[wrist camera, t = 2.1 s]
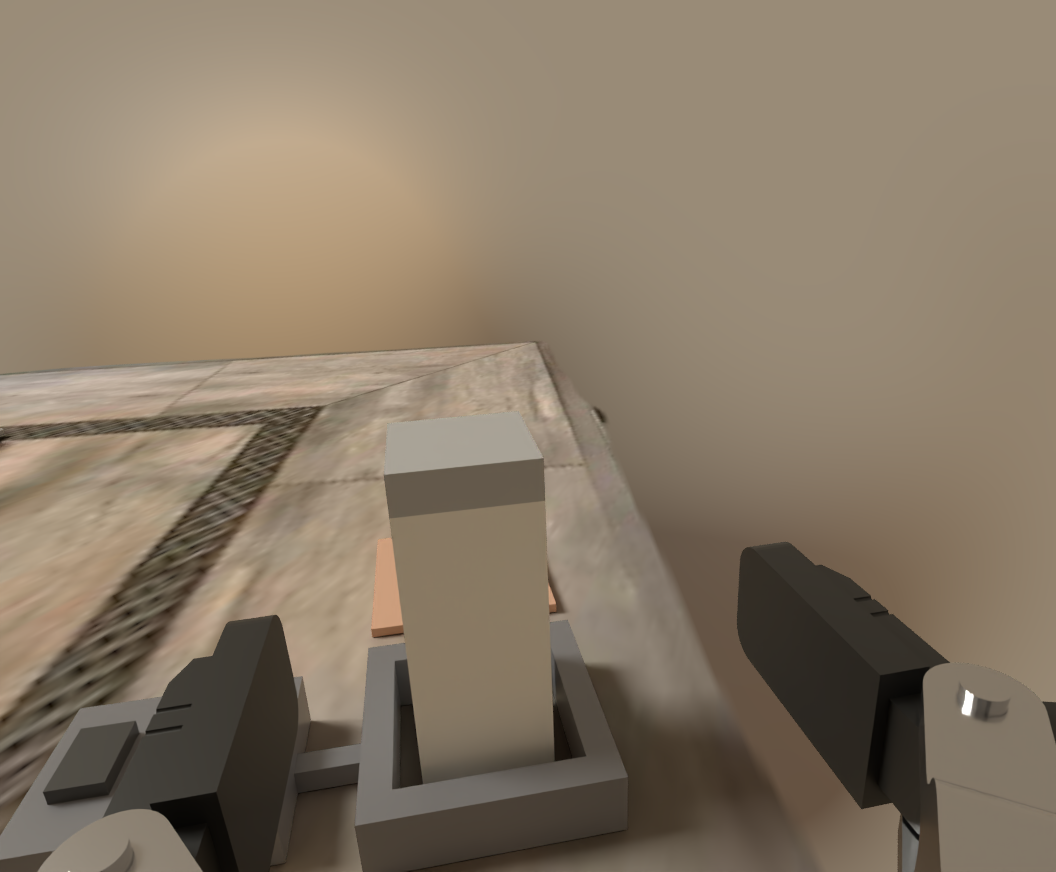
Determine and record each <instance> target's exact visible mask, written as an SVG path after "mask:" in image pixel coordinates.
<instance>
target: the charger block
mask: <svg viewBox="0 0 1056 872" xmlns="http://www.w3.org/2000/svg"><path fill="white" fill-rule="evenodd" d="M384 480H385V488H386V496H387V504H388V511H389V519H390V527H391V535H392V543H393V551H394V559H395V567H396V575H397V583H398V591H399V599H400V606H401V614H402V622H403V630H404V638H405V646H406V654H407V662H408V670H409V678H410V686H411V693H412V701H413V709H414V717H415V725H416V733H417V741H418V749H419V757H420V765H421V773H422V780H423V784H428V783H434V782H440V781H446V780H451V779H457V778H463V777H469V776H475V775H480V774H486V773H492V772H498V771H504V770H509V769H515V768H521V767H527V766H533V765H538V764H544V763H550V762H555V755H554V728H553V701H552V674H551V646H550V619H549V592H548V565H547V538H546V511H545V483H544V458H543V456H542V454H541V452H540V450H539V449H538V447H537V445H536V443H535V441H534V439H533V437H532V435H531V433H530V432H529V430H528V428H527V426H526V424H525V422H524V420H523V418H522V416H521V414H520V413H519V411H514V412H503V413H493V414H482V415H471V416H461V417H450V418H439V419H429V420H418V421H408V422H397V423H388V424H387V438H386V452H385V466H384Z"/></svg>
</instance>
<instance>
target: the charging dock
mask: <svg viewBox="0 0 1056 872" xmlns="http://www.w3.org/2000/svg"><path fill="white" fill-rule="evenodd" d="M550 646H551V674H552V691H553V695H554V698H555V701H556V705H557V708H558V711H559V715H560V718H561V721H562V725H563V728H564V731H565V735H566V738H567V741H568V745H569V748H570V751H571V755H572V758H573V759H567V760H561V761H556V762H550V763H544V764H538V765H533V766H527V767H521V768H515V769H509V770H504V771H498V772H492V773H486V774H480V775H475V776H469V777H463V778H457V779H451V780H446V781H440V782H434V783H428V784H423V785H417V786H411V787H405V788H400V727H401V706H402V705H409V704H413V701H412V693H411V686H410V678H409V670H408V662H407V654H406V646H405V643H401V644H394V645H387V646H379V647H372V648H368V661H367V674H366V687H365V700H364V713H363V726H362V739H361V744H355V745H349V746H343V747H337V748H331V749H324V750H318V751H312V752H306V753H305V750H306V744H307V738H308V733H309V727H310V721H311V718H310V713H309V708H308V703H307V698H306V692H305V687H304V682H303V677H302V676H301V677H294V682H295V687H296V691H297V698H298V714H299V716H298V731H297V737H296V741H295V746H294V751H293V756H292V761H291V766H290V771H289V776H288V781H287V786H286V790H285V795H284V800H283V805H282V810H281V815H280V820H279V825H278V830H277V834H276V839H275V844H274V849H273V854H272V859H271V864H270V866H271V865H277V864H282V863H286V857H287V851H288V846H289V840H290V834H291V829H292V823H293V817H294V812H295V806H296V800H297V795H298V793H301V792H306V791H312V790H318V789H324V788H330V787H336V786H342V785H348V784H353V783H358V790H357V803H356V816H355V830H356V836H357V842H358V847H359V853H360V858H361V864H362V870H363V872H406V871H412V870H417V869H422V868H427V867H433V866H438V865H443V864H448V863H453V862H459V861H464V860H469V859H474V858H480V857H485V856H490V855H495V854H501V853H506V852H511V851H516V850H522V849H527V848H532V847H537V846H543V845H548V844H553V843H558V842H564V841H569V840H574V839H579V838H584V837H590V836H595V835H600V834H605V833H611V832H616V831H621V830H626V829H628V775H627V773H626V770H625V767H624V765H623V762H622V760H621V757H620V754H619V752H618V749H617V747H616V744H615V741H614V739H613V736H612V734H611V731H610V728H609V726H608V723H607V721H606V718H605V715H604V713H603V710H602V708H601V705H600V702H599V700H598V697H597V695H596V692H595V689H594V687H593V684H592V682H591V679H590V676H589V674H588V671H587V669H586V666H585V663H584V661H583V658H582V656H581V653H580V650H579V648H578V645H577V643H576V640H575V637H574V635H573V632H572V630H571V627H570V624H569V622H568V620H563V621H556V622H550ZM161 698H162V697H157V698H150V699H143V700H136V701H129V702H122V703H116V704H109V705H102V706H95V707H88V708H81V709H80V710H79V711H78V713H77V715H76V716H75V718H74V719H73V721H72V723H71V724H70V726H69V727H68V729H67V731H66V732H65V734H64V735H63V737H62V738H61V740H60V742H59V743H58V745H57V746H56V748H55V750H54V751H53V753H52V754H51V756H50V758H49V759H48V761H47V762H46V764H45V766H44V767H43V769H42V770H41V772H40V773H39V775H38V777H37V778H36V780H35V781H34V783H33V785H32V786H31V788H30V789H29V791H28V793H27V794H26V796H25V797H24V799H23V801H22V802H21V804H20V805H19V807H18V808H17V810H16V812H15V813H14V815H13V816H12V818H11V820H10V821H9V823H8V824H7V826H6V828H5V829H4V831H3V832H2V834H1V836H0V872H38V870H39V869H40V867H41V866H42V864H43V863H44V862H45V861H46V859H47V858H48V857H49V856H50V855H51V854H52V853H53V852H54V851H55V850H56V849H57V848H58V847H59V846H60V845H61V844H62V843H63V842H64V841H66V840H67V839H68V838H70V837H71V836H72V835H73V834H75V833H76V832H78V831H79V830H81V829H82V828H84V827H86V826H87V825H89V824H91V823H93V822H95V821H97V820H99V819H101V818H103V816H104V814H105V812H106V810H107V808H108V806H109V804H110V802H111V800H112V798H113V796H114V794H115V792H116V789H117V787H118V785H119V783H120V781H121V779H122V777H123V775H124V773H125V771H126V769H127V767H128V765H129V763H130V761H131V759H132V757H133V755H134V753H135V751H136V749H137V747H138V745H139V743H140V741H141V739H142V737H144V736H145V735H146V732H145V731H146V729H147V727H148V725H149V723H150V720H151V718H152V716H153V714H156V708H157V706H158V704H159V702H160V700H161Z"/></svg>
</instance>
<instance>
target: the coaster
mask: <svg viewBox="0 0 1056 872" xmlns="http://www.w3.org/2000/svg"><path fill="white" fill-rule="evenodd" d="M548 592H549V613H550V612H556V602H555V599H554V597H553V594H552V591H551V588H550V586H549V583H548ZM371 630H372V637H378V636H385V635H392V634H399V633H404V630H403V622H402V614H401V606H400V599H399V591H398V583H397V575H396V567H395V559H394V551H393V543H392V538H385V539H378V547H377V561H376V574H375V588H374V601H373V614H372V628H371Z"/></svg>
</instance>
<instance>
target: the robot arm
mask: <svg viewBox="0 0 1056 872" xmlns="http://www.w3.org/2000/svg"><path fill="white" fill-rule="evenodd" d="M739 573H740V574H739V592H738V611H737V629H738V635H739V639H740V642H741V645H742V648H743V650H744V652H745V654H746V656H747V657H748V659H749V660H750V662H751V663H752V664H753V665H754V667H755V668H756V670H757V671H758V672H759V674H760V675H761V676H762V678H763V679H764V680H765V682H766V683H767V684H768V686H769V687H770V688H771V690H772V691H773V692H774V693H775V695H776V696H777V697H778V699H779V700H780V702H781V703H782V704H783V705H784V707H785V708H786V709H787V711H788V712H789V713H790V715H791V716H792V717H793V719H794V720H795V721H796V723H797V724H798V725H799V727H800V728H801V729H802V731H803V732H804V733H805V735H806V736H807V737H808V739H809V740H810V741H811V743H812V744H813V745H814V747H815V748H816V749H817V751H818V752H819V753H820V755H821V756H822V757H823V759H824V760H825V761H826V762H827V764H828V765H829V767H830V768H831V769H832V770H833V772H834V773H835V775H836V776H837V777H838V779H839V780H840V781H841V783H842V784H843V785H844V786H845V788H846V789H847V791H848V792H849V793H850V794H851V796H852V797H853V798H854V800H855V801H856V802H857V804H858V805H859V806H860V808H861V809H864V808H869V807H874V806H879V805H883V804H888V803H893V804H894V805H895V807H896V808H897V809H898V810H899V811H900V813H901V815H900V822H899V828H898V872H1056V702H1042V701H1041V700H1040V698H1039V697H1038V696H1037V695H1036V694H1035V693H1034V692H1033V691H1031V690H1030V689H1029V688H1028V687H1027V686H1025V685H1024V684H1022V683H1020V682H1019V681H1017V680H1015V679H1014V678H1012V677H1010V676H1008V675H1006V674H1003V673H1001V672H999V671H996V670H993V669H990V668H987V667H983V666H979V665H974V664H969V663H950V662H949V661H947V660H946V659H945V658H944V657H942V655H940V654H939V653H938V652H937V651H936V650H934V649H933V648H932V647H931V646H930V645H928V644H927V643H926V642H925V641H923V640H922V639H921V638H920V637H919V636H918V635H917V634H915V633H914V632H913V631H912V630H911V629H910V628H908V627H907V626H906V625H905V624H903V623H902V622H901V621H900V620H899V619H898V618H896V617H895V616H894V615H893V614H890V615H889V613H888V610H887V609H886V608H885V607H883V606H882V605H881V604H880V603H879V602H877V601H876V600H875V599H874V600H872V599H871V596H870V595H869V594H868V593H867V592H866V591H864V590H863V589H862V588H861V587H860V586H858V585H857V584H856V583H855V582H854V581H853V580H851V579H850V578H848V577H846V576H844V575H842V574H840V573H838V572H835V571H833V570H831V569H829V568H827V567H825V566H823V565H817V566H816V565H814V564H813V563H812V562H811V561H810V560H809V559H807V557H805V556H804V555H803V554H802V553H801V552H800V551H799V550H797V549H796V548H795V547H794V546H793V545H792V544H790V543H788V542H781V543H774V544H767V545H760V546H753V547H747V548H745V549H744V550H743V552H742V554H741V558H740V572H739ZM298 716H299V714H298V698H297V691H296V687H295V682H294V677H293V673H292V668H291V664H290V659H289V654H288V650H287V645H286V641H285V636H284V631H283V627H282V623H281V621H280V618H279V617H278V616H277V615H271V616H265V617H258V618H251V619H244V620H237V621H230V622H228V623H227V624H226V626H225V628H224V630H223V632H222V635H221V637H220V640H219V642H218V644H217V647H216V649H215V651H214V654H213V656H210V657H203V658H196V659H193V660H192V661H191V662H190V663H189V664H188V665H187V666H186V667H185V668H184V669H183V670H182V671H181V672H180V673H179V674H178V675H177V676H176V677H175V678H174V679H173V680H172V681H171V682H170V683H169V684H168V686H167V688H166V690H165V692H164V694H163V696H162V698H161V700H160V702H159V704H158V706H157V708H156V714H153V716H152V718H151V720H150V723H149V725H148V727H147V729H146V731H145V732H146V735H145V736H144V737H142V739H141V741H140V743H139V745H138V747H137V749H136V751H135V753H134V755H133V757H132V759H131V761H130V763H129V765H128V767H127V769H126V771H125V773H124V775H123V777H122V779H121V781H120V783H119V785H118V787H117V789H116V792H115V794H114V796H113V798H112V800H111V802H110V804H109V806H108V808H107V810H106V812H105V814H104V816H103V818H101V819H99V820H97V821H95V822H93V823H91V824H89V825H87V826H86V827H84V828H82V829H81V830H79V831H78V832H76V833H75V834H73V835H72V836H71V837H70V838H68V839H67V840H66V841H64V842H63V843H62V844H61V845H60V846H59V847H58V848H57V849H56V850H55V851H54V852H53V853H52V854H51V855H50V856H49V857H48V858H47V859H46V861H45V862H44V863H43V864H42V866H41V867H40V869H39V870H38V872H269V869H270V864H271V859H272V854H273V849H274V844H275V839H276V834H277V830H278V825H279V820H280V815H281V810H282V805H283V800H284V795H285V790H286V786H287V781H288V776H289V771H290V766H291V761H292V756H293V751H294V746H295V741H296V737H297V731H298Z"/></svg>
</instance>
